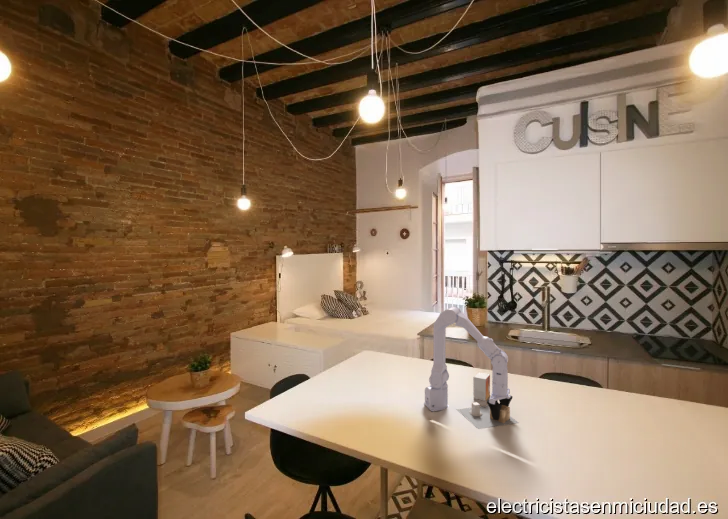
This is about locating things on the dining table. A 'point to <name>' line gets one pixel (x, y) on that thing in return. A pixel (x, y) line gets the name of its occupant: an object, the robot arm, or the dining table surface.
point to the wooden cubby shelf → (503, 414)
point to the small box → (481, 386)
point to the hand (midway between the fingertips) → (499, 416)
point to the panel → (482, 416)
